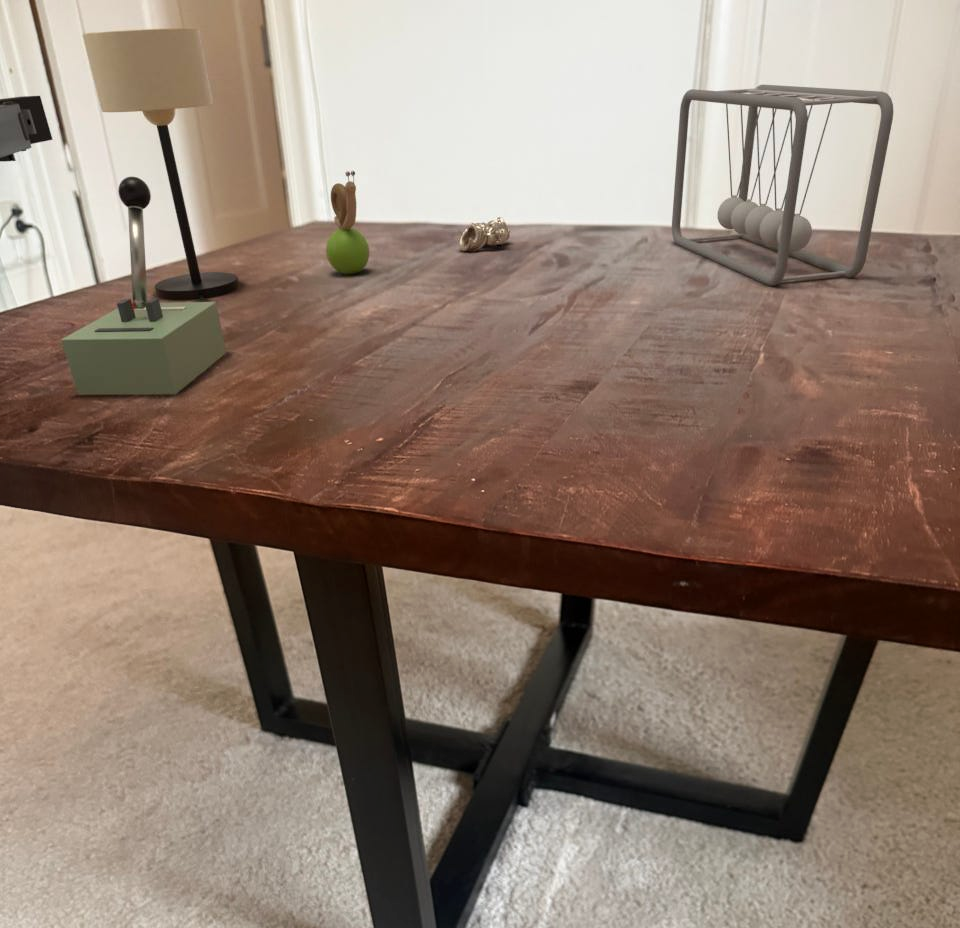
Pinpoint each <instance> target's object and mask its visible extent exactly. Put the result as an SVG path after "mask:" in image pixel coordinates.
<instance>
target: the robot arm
mask: <svg viewBox="0 0 960 928" xmlns="http://www.w3.org/2000/svg"><path fill="white" fill-rule="evenodd" d="M46 115H47V114H46V112H45V108H44V104H43V101H42V98H41V95H27V96H25V95H23V96H15V97H6V98H0V162H16V161H17V159H16V157H15V154H17V153H20V152H26V151H27V150H30V149H32V145H33V144H37V143H44V142H49V141H53V136H52V132H51V129H50V126H49V123H48V118H47V116H46Z"/></svg>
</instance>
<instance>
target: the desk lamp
mask: <svg viewBox="0 0 960 928" xmlns="http://www.w3.org/2000/svg"><path fill="white" fill-rule="evenodd" d="M200 31H201V30H200V28H199V27H168V28H145V29H144V28H143V29H142V28H141V29H126V30H125V29H124V30H109V31H108V30H107V31H97V32H85V33H82V39H83V43H84V47H85V50H86V54H87V59H88V62H89V66H90V70H91V74H92V79H93V82H94V86H95V89H96V90H95V91H96V94H97V99H98V103H99V106H100V110H101V113H135V112H142V114H143V116H144V118H145V119H146V121H148V122H149V123H150V124H152V125H153V126H156V129H157V134H158V138H159V143H160V147H161V151H162V152H161V153H162V156H163V160H164V165H165V169H166V174H167V178H168V182H169V188H170V193H171V197H172V201H173V205H174V209H175V214H176V218H177V224H178V227H179V232H180V238H181V241H182V246H183V251H184V255H185V259H186V263H187V268H188V272H189V273H187V274H181V275H175V276H172V277H169V278H168V277H167V278H165V279H162V280H159V281H158V282H156V283H155V284H154V289H155V294H156V298H158V299H161V300H165V301H166V300H167V301H197V300H198V302H207V300H206V299H210V298H216V297H221V296H224V295H229V294H231V293H233V292H235V291H237V290H238V289H240V282H239V281H240V280H239V276H238V275H236V274H234V273H231V272H225V271H224V272H223V271H210V272H209V271H207V272H206V271H205V272H201V271H200V267H199V263H198V258H197V254H196V253H197V252H196V250H195V249H196V248H195V244H194V239H193V236H192V231H191V230H192V229H191V225H190V222H189V221H190V220H189V216H188V211H187V208H186V203H185V199H184V194H183V189H182V185H181V180H180V176H179V170H178V167H177V166H178V165H177V161H176V157H175V151H174V147H173V142H172V139H171V138H172V137H171V134H170V129H169V125H170V124H171V123H172V122H173V121H174V118H175V116H176V110H177V109H179V110H180V109H188V108H198V107H199V108H200V107H206V106H211V105H213V104H214V101H213V95H212V89H211V85H210V79H209V73H208V68H207V63H206V60H205V59H206V58H205V54H204V53H205V52H204V47H203V42H202V36H201V32H200Z"/></svg>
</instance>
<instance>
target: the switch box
mask: <svg viewBox="0 0 960 928" xmlns="http://www.w3.org/2000/svg"><path fill="white" fill-rule="evenodd" d="M116 306H117V308H116V309H113V310H112V311H110V312H109V313H107V314H105V315H102V316H100V317H99V318H97V319H95V320H94V321H91V322H90V323H88V324H87V325H84V326H83V327H81V328H79V329H78V330H75V331H74V332H72V333H70V334H69V335H67V336H65V337H63V338H61V339H60V342H61V345H62V348H63V351H64V354H65V358H66V360H67V364H68V366H69V370H70V373H71V376H72V379H73V383H74V385H75V389H76V392H77V395H78V396H79V395H81V396H85V395H86V396H94V395H96V396H97V395H99V396H100V395H101V396H103V395H104V396H105V395H110V396H111V395H115V396H116V395H119V396H121V395H123V396H124V395H177V394H178V393H179V392H180V391H181V390H183V389H184V388H185V387H186V386H188V385H189V384H190V383H191V382H192V381H194V380H195V379H196V378H197V377H199V376H200V375H202V373H204V372H205V371H206V370H207V369H209V368H210V367H211V366H212V365H213V364H215V363H216V362H217V361H218V360H219V359H221V358H222V357H224V356H225V355H226V354H227V349H226V344H225V340H224V335H223V330H222V329H223V328H222V325H221V324H222V323H221V320H220V316H219V310H218V306H217V302H216V301H206V302H200V301H191V302H190V301H186V302H185V301H183V302H181V301H179V302H160V298H159V297H155V298H154V297H153V298H150V299H149V300H147V302H145V306H146V307H145V308H144V309H138V308H136V307H135V306H134V304H133V299H132V298H124V299H122V300H120V301H117V303H116Z"/></svg>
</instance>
